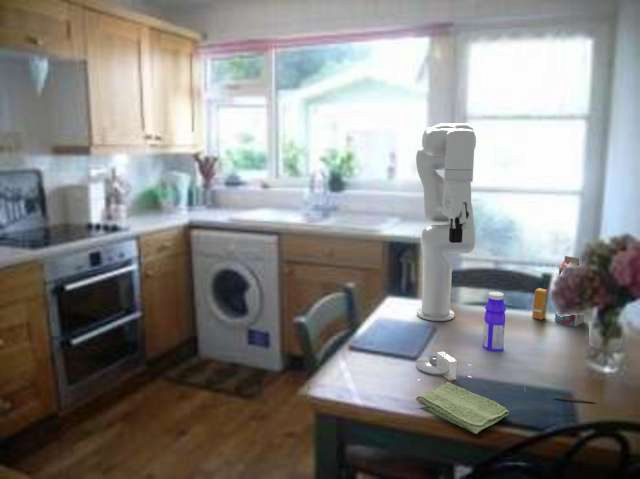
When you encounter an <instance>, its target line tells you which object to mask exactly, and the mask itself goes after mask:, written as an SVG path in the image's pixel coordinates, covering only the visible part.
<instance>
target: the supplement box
mask: <svg viewBox="0 0 640 479" xmlns="http://www.w3.org/2000/svg"><path fill="white" fill-rule="evenodd" d="M533 298H534V299H533V306H532V315H531V318H532V319H536V320H541V321H542V320H543V319H545V316H546V309H547V308H546V307H547V301H548V289H545V288H541V287H538V288H536V289H535V290H534V297H533Z"/></svg>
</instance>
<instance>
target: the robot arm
mask: <svg viewBox="0 0 640 479" xmlns="http://www.w3.org/2000/svg"><path fill="white" fill-rule="evenodd" d="M476 144H477V137H476V134H475V131H474V128H473V127H472V125H471V124H469V123H463V122H462V123H460V122H457V123H455V122H454V123H452V122H451V123H449V122H446V123H445V122H443V123H442V122H441V123H438V124H434V126H432V127H427V128H425V130H424V131H423V134H422V138H421V146H422V147H420V148H419V149H418V150H417V152H416V155H415V156H416V157H415V163H416V164H415V165H416V170H417V173H418V177H419V179H420V182H421V184H422V187H423V205H424V207H423V208H424V215H425V216H424V217H425V219H426V221H427V222H429V223H431V224H432V225H428V226H425V227H424V228H423V230H422V232H421V247H422V261H423V262H422V263H423V265H422V291H421V292H422V293H421V298H422V299H421V307H420V308H418V309H417V310H416V314H417V316H418V317H420V318H421V319H423V320H427V321H433V322H446V321H450V320H453V319H455V312H454V311H453V310H452V309H451V295H452V291H451V290H452V276H453V275H452V274H453V273H452V272H453V268H452V263H451V261H449V258H447V257H446V255H445V254H448V255H449V254H470V253H473V251H474V250H475V247H476V232H475V230H476V229H475V221H474V220H475V219H474V208H473V204H472V183H473V180H474V165H475V164H474V163H475V162H474V160H475V148H476V146H477V145H476ZM438 171H444V175H443V176H442V175H441V174H440V173H439V172H438Z"/></svg>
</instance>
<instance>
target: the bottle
mask: <svg viewBox="0 0 640 479" xmlns="http://www.w3.org/2000/svg"><path fill="white" fill-rule="evenodd" d="M504 296H505V294H504V293H503V292H500V291H490V292H489V293H488V300H487V302H486V304H485V307H484V309H485V312H484V316H483V317H484V325H483V326H484V327H483V338H482V339H483V342H482V347H483V349H485V350H486V351H489V352H498V353H499V352H502V351H504V348H505V347H504V343H505V342H504V341H505V340H504V339H505V325H506V313H505V312H506V311H507V308H506V306H505V300H504V298H505V297H504Z"/></svg>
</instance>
